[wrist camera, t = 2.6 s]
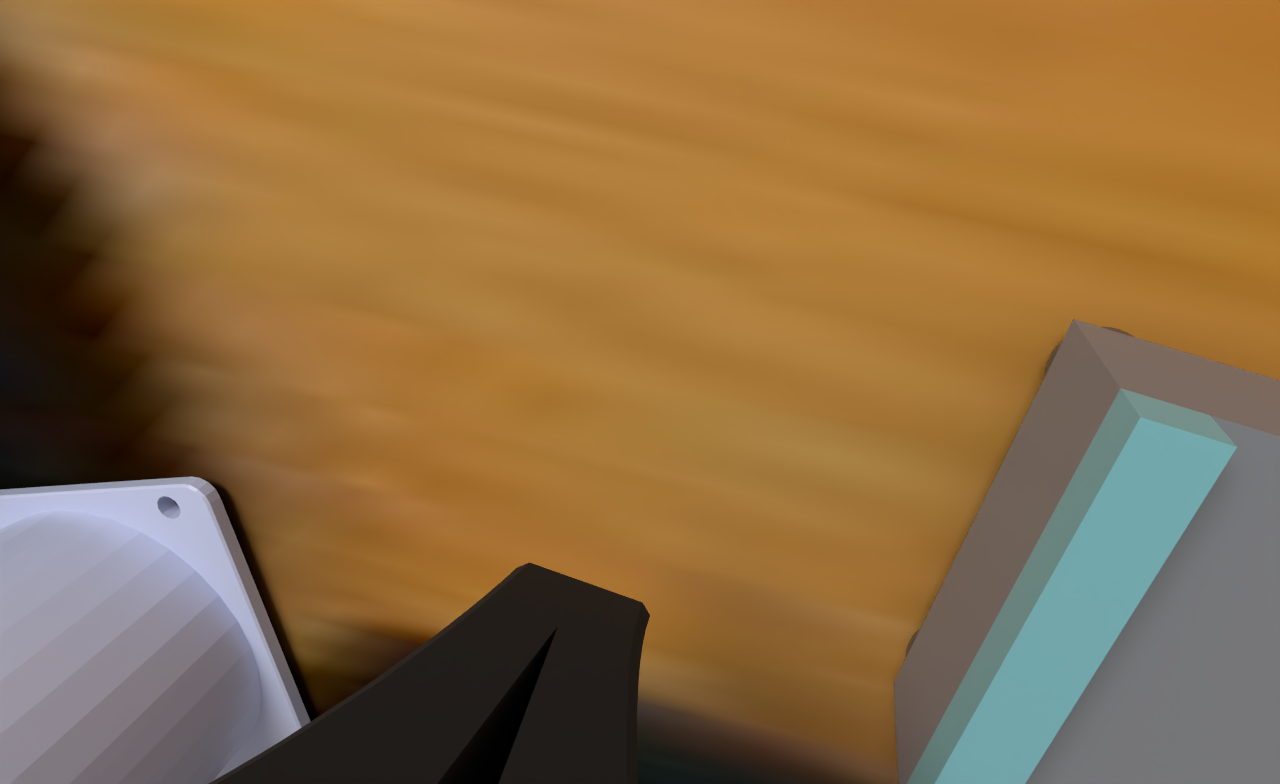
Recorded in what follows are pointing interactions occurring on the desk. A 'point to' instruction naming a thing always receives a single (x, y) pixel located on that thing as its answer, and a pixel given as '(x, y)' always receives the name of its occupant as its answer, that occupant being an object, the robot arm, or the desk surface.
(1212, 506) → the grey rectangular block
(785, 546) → the desk surface
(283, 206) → the desk surface
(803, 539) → the desk surface
